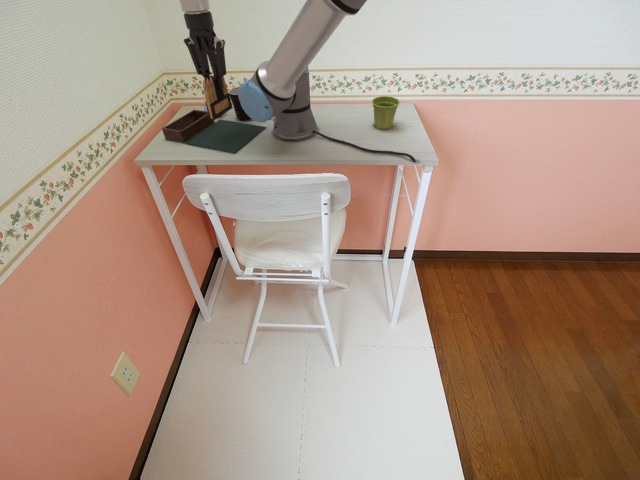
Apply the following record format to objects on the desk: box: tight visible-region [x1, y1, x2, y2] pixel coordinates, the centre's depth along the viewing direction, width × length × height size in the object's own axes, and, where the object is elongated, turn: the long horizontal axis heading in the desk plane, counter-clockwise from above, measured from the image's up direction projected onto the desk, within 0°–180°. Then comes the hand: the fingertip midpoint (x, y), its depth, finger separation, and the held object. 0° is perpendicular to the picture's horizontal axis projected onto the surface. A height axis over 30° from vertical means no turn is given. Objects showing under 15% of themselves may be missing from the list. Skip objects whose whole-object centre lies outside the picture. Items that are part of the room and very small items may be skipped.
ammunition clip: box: [202, 74, 234, 121], centre depth 107 cm, size 11×2×12 cm, turn 157°
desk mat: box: [185, 119, 266, 155], centre depth 116 cm, size 20×20×1 cm
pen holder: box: [161, 109, 215, 144], centre depth 119 cm, size 8×17×4 cm, turn 157°
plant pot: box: [371, 95, 401, 130], centre depth 114 cm, size 9×9×9 cm
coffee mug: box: [228, 86, 252, 122], centre depth 125 cm, size 12×9×10 cm
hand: (217, 98), depth 107 cm, fingers closed on ammunition clip, 2 cm apart
